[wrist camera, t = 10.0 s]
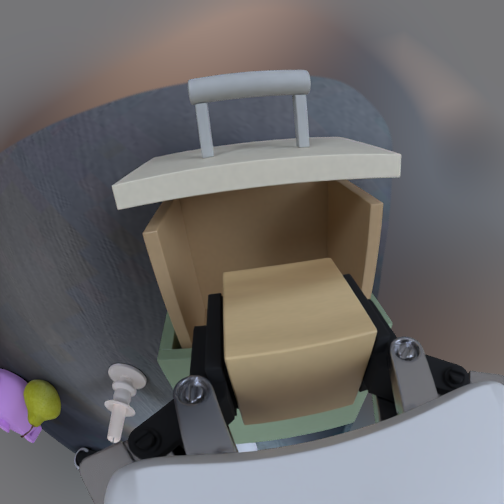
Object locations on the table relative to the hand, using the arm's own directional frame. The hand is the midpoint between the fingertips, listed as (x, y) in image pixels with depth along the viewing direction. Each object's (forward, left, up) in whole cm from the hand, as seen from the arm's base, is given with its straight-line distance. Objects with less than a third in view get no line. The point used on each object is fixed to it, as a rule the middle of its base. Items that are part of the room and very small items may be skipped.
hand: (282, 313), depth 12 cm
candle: (+26, 0, -12) cm, 29 cm away
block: (0, 0, -1) cm, 1 cm away
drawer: (-1, -1, -11) cm, 11 cm away
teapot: (+52, -17, -12) cm, 56 cm away
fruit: (+42, -10, -12) cm, 45 cm away
